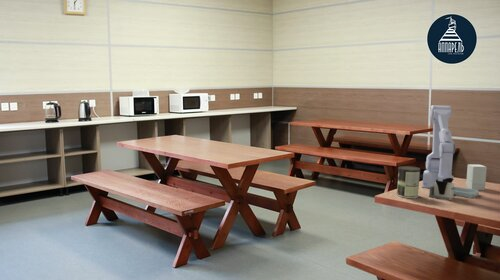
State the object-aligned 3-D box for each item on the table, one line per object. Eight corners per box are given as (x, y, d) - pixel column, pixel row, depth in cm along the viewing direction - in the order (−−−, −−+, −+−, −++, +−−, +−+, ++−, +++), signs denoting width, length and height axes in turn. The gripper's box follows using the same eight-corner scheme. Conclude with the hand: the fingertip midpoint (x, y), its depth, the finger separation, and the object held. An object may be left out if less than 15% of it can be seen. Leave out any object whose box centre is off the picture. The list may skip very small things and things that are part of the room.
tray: (445, 193, 251) (445, 189, 250) (451, 190, 258) (452, 186, 258) (473, 198, 242) (473, 193, 242) (478, 194, 250) (478, 190, 250)
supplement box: (485, 190, 260) (487, 166, 259) (471, 189, 261) (473, 166, 259) (479, 187, 268) (481, 164, 266) (465, 186, 268) (467, 163, 266)
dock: (429, 196, 243) (429, 186, 243) (436, 192, 252) (437, 183, 251) (449, 200, 237) (450, 190, 237) (456, 196, 246) (457, 186, 245)
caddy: (433, 196, 245) (434, 182, 244) (436, 194, 249) (437, 180, 248) (452, 199, 239) (453, 185, 238) (455, 197, 243) (456, 183, 242)
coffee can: (393, 196, 243) (395, 168, 242) (400, 192, 252) (402, 165, 250) (414, 199, 238) (416, 170, 236) (421, 195, 246) (423, 167, 244)
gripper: (449, 169, 234) (447, 197, 236) (458, 165, 246) (456, 192, 247) (434, 167, 239) (432, 194, 241) (444, 163, 250) (442, 189, 252)
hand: (443, 193), depth 244 cm, fingers open, 6 cm apart
